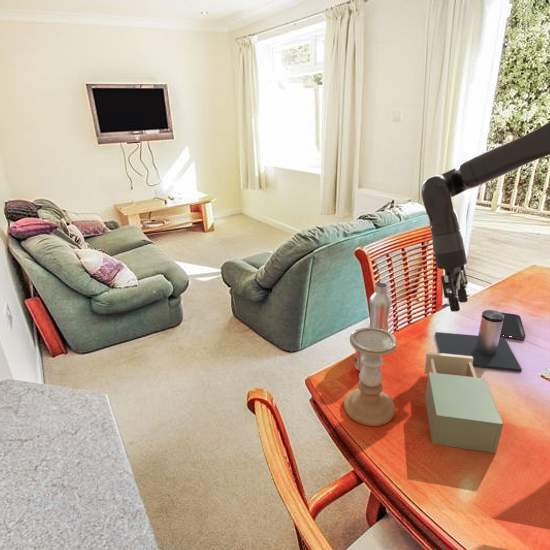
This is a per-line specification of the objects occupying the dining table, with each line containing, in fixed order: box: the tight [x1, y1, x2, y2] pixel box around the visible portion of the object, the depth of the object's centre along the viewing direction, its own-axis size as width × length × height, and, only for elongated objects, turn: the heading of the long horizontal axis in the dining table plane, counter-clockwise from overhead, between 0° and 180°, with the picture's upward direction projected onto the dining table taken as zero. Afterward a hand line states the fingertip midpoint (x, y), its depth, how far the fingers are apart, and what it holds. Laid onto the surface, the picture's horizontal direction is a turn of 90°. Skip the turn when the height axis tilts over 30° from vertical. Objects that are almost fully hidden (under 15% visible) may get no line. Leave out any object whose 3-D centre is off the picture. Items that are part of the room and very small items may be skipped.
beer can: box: [354, 349, 364, 372], centre depth 105 cm, size 5×5×12 cm
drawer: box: [423, 351, 478, 378], centre depth 95 cm, size 15×11×6 cm
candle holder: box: [343, 327, 398, 427], centre depth 89 cm, size 12×12×20 cm
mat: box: [434, 331, 523, 373], centre depth 112 cm, size 20×16×1 cm
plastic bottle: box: [368, 282, 392, 332], centre depth 115 cm, size 6×7×20 cm
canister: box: [476, 309, 504, 355], centre depth 108 cm, size 6×6×12 cm
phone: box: [499, 311, 526, 340], centre depth 123 cm, size 8×1×15 cm
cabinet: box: [424, 372, 504, 454], centre depth 85 cm, size 15×13×8 cm
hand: (459, 306), depth 103 cm, fingers open, 8 cm apart
